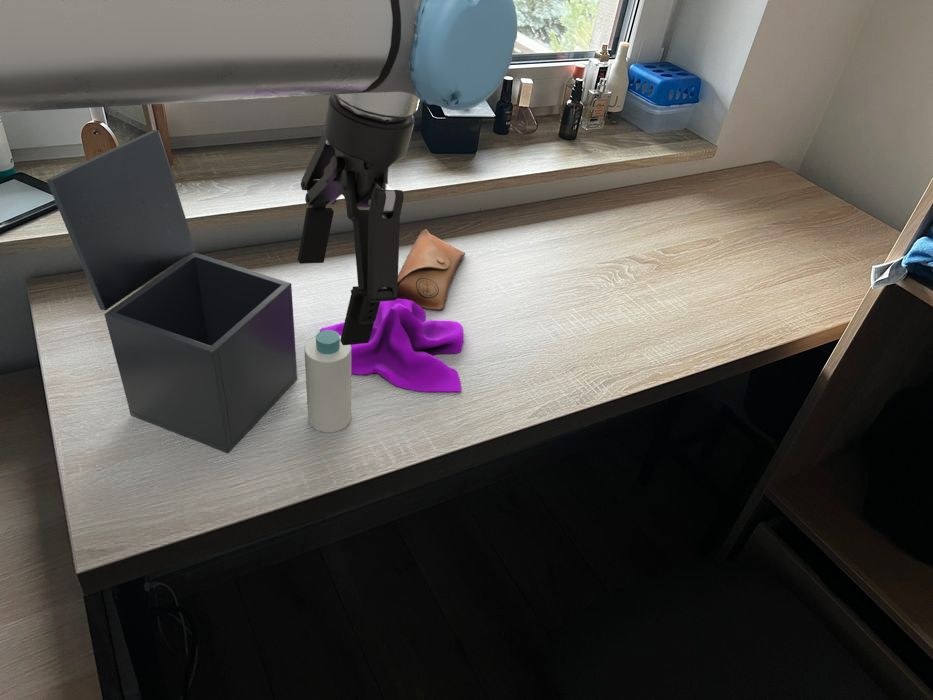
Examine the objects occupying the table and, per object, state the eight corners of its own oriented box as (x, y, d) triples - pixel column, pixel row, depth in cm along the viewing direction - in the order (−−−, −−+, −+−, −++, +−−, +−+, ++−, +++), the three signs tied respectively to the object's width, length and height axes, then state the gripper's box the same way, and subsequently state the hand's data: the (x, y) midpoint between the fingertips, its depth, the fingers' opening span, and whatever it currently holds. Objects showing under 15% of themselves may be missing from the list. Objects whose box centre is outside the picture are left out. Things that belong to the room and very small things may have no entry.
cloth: (297, 350, 98) (294, 313, 94) (377, 290, 111) (378, 255, 107) (436, 417, 90) (440, 380, 86) (505, 344, 103) (510, 309, 99)
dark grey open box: (297, 379, 93) (291, 283, 84) (228, 453, 82) (212, 352, 73) (208, 347, 96) (193, 251, 87) (130, 415, 85) (103, 313, 76)
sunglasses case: (446, 310, 107) (426, 273, 104) (405, 322, 110) (385, 286, 107) (467, 250, 122) (450, 217, 118) (430, 263, 124) (413, 230, 121)
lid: (158, 130, 79) (153, 129, 79) (52, 180, 68) (45, 179, 68) (195, 249, 87) (190, 248, 87) (105, 311, 76) (99, 309, 76)
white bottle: (338, 438, 86) (336, 356, 78) (299, 424, 87) (294, 342, 79) (358, 411, 90) (359, 331, 82) (322, 398, 91) (319, 318, 83)
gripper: (476, 178, 56) (411, 376, 69) (362, 50, 72) (326, 232, 84) (389, 175, 52) (338, 386, 65) (288, 40, 68) (262, 232, 80)
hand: (331, 299), depth 75 cm, fingers open, 13 cm apart
